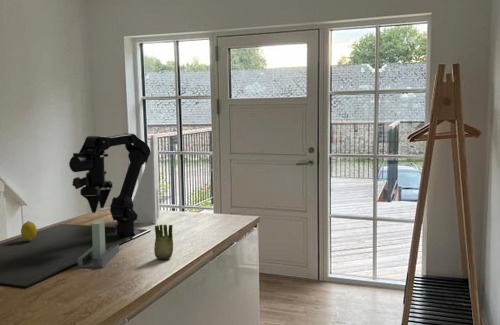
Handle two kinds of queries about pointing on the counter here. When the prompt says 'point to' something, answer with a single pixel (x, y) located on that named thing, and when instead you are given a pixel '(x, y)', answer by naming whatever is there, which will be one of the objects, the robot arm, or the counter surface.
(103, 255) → the track
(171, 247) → the fennel bulb
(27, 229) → the lemon
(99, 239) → the door panel
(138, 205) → the white bracket plate
